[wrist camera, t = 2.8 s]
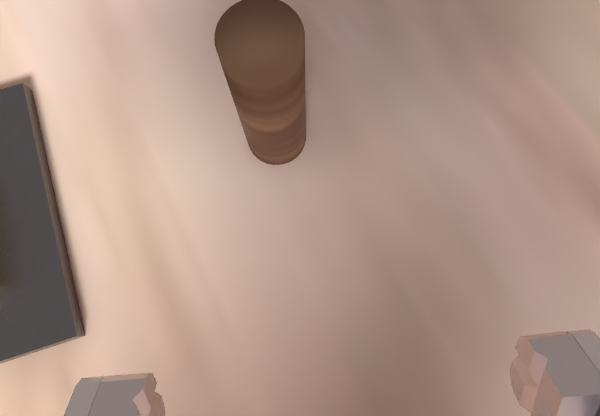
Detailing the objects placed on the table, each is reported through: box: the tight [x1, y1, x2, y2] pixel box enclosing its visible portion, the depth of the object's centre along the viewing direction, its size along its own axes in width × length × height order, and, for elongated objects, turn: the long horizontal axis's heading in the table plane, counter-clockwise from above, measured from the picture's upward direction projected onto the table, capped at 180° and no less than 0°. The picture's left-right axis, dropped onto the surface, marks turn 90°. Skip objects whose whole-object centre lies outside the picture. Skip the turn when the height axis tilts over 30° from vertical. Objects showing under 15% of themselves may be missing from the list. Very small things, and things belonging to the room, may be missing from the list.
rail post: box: [215, 0, 306, 165], centre depth 25 cm, size 4×4×11 cm
